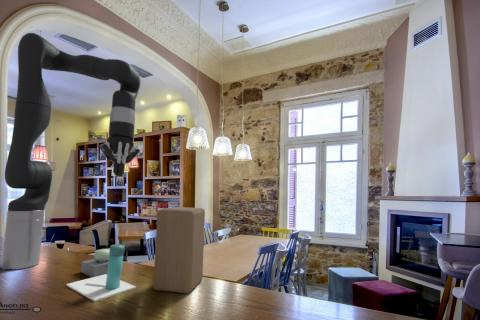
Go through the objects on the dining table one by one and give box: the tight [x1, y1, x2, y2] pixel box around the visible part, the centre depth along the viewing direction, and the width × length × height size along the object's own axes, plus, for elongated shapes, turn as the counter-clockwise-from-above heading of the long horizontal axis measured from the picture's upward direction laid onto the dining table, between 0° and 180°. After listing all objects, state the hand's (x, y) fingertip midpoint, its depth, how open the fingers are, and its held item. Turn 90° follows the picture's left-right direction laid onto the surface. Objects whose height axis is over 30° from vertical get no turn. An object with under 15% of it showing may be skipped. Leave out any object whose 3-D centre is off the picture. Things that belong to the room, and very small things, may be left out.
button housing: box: [80, 258, 109, 278], centre depth 77 cm, size 8×8×3 cm
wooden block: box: [152, 206, 206, 294], centre depth 68 cm, size 10×10×20 cm
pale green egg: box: [93, 248, 110, 263], centre depth 77 cm, size 4×4×6 cm
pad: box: [66, 274, 137, 302], centre depth 65 cm, size 15×10×1 cm, turn 55°
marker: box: [105, 243, 126, 290], centre depth 64 cm, size 3×3×10 cm
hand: (118, 175), depth 82 cm, fingers closed
